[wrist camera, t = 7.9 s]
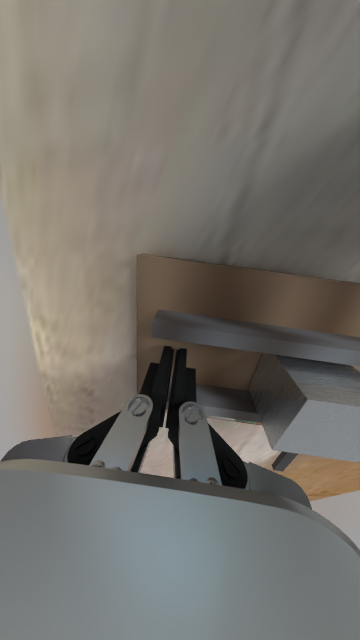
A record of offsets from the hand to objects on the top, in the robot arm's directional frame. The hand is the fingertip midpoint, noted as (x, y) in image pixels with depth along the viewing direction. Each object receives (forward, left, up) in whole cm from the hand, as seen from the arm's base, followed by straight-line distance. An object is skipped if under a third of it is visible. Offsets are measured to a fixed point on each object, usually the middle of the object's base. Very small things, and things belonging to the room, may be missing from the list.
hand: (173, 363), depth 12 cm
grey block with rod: (+2, +12, -1) cm, 12 cm away
